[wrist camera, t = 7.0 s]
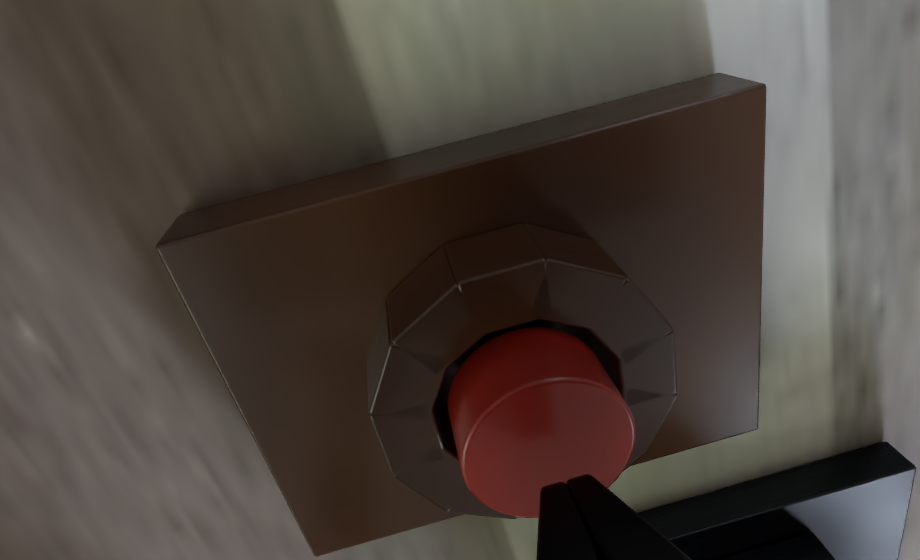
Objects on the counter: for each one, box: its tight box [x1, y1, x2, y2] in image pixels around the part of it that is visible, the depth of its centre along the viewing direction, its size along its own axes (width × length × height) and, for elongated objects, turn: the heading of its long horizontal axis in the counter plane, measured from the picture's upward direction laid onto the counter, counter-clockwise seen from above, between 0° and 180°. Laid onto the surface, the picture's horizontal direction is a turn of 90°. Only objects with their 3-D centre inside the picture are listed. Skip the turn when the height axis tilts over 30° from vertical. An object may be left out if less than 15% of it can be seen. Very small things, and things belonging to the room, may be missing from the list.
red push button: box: [448, 327, 635, 518], centre depth 11 cm, size 3×3×2 cm
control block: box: [156, 73, 766, 556], centre depth 13 cm, size 12×9×4 cm
